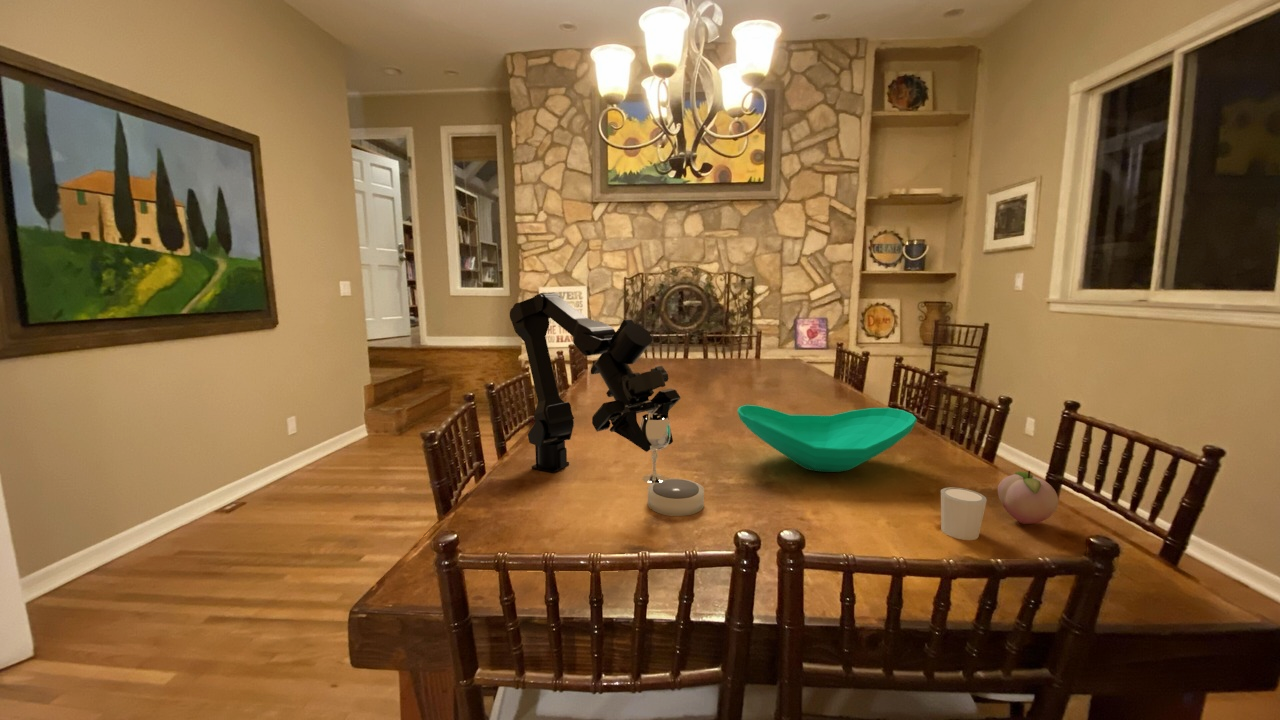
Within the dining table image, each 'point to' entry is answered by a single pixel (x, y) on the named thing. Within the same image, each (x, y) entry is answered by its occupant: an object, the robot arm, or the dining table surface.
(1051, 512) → the decorative fruit
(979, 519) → the white cup
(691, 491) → the disc
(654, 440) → the wineglass
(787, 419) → the table top decor
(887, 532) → the dining table surface
